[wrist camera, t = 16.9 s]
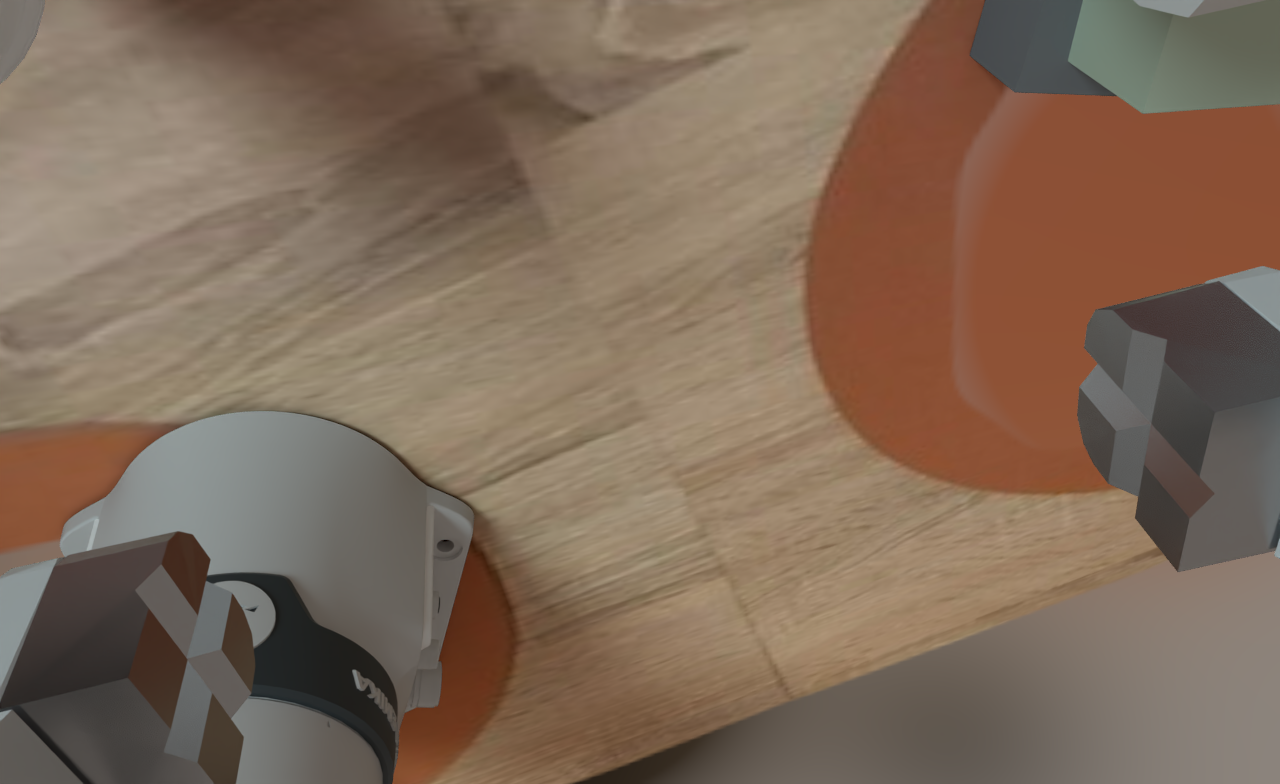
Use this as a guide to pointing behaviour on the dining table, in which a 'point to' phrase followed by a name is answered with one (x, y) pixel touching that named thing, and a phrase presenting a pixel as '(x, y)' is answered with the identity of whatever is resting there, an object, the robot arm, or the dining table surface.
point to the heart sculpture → (1192, 6)
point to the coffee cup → (17, 31)
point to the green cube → (1181, 55)
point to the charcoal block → (1032, 46)
